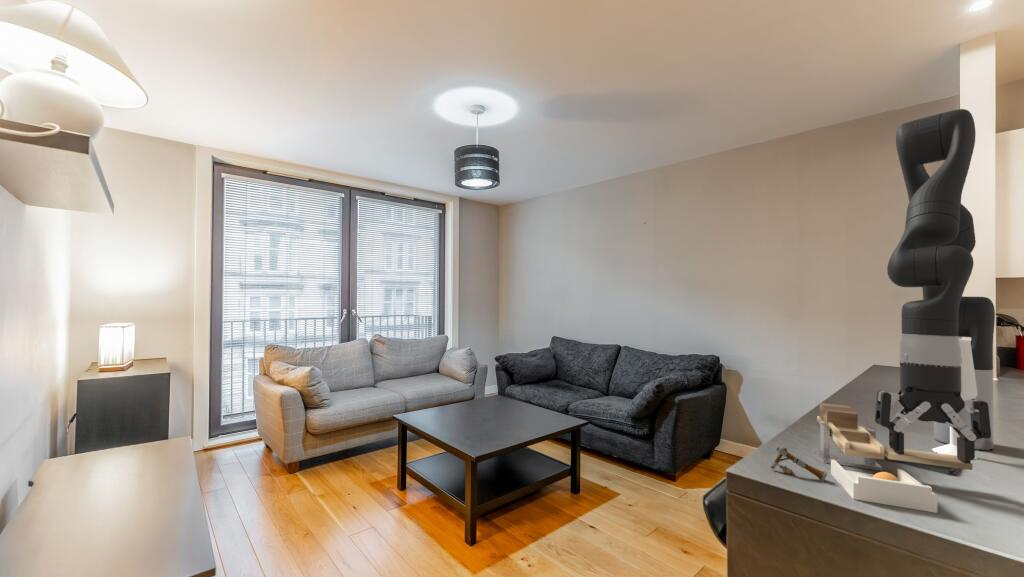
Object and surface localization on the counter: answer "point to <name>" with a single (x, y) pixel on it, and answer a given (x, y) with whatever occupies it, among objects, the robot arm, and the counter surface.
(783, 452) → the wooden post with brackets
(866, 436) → the lever
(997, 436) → the counter surface
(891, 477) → the ball
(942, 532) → the counter surface
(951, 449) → the champagne flute
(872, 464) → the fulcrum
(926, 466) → the phone
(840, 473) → the tray
